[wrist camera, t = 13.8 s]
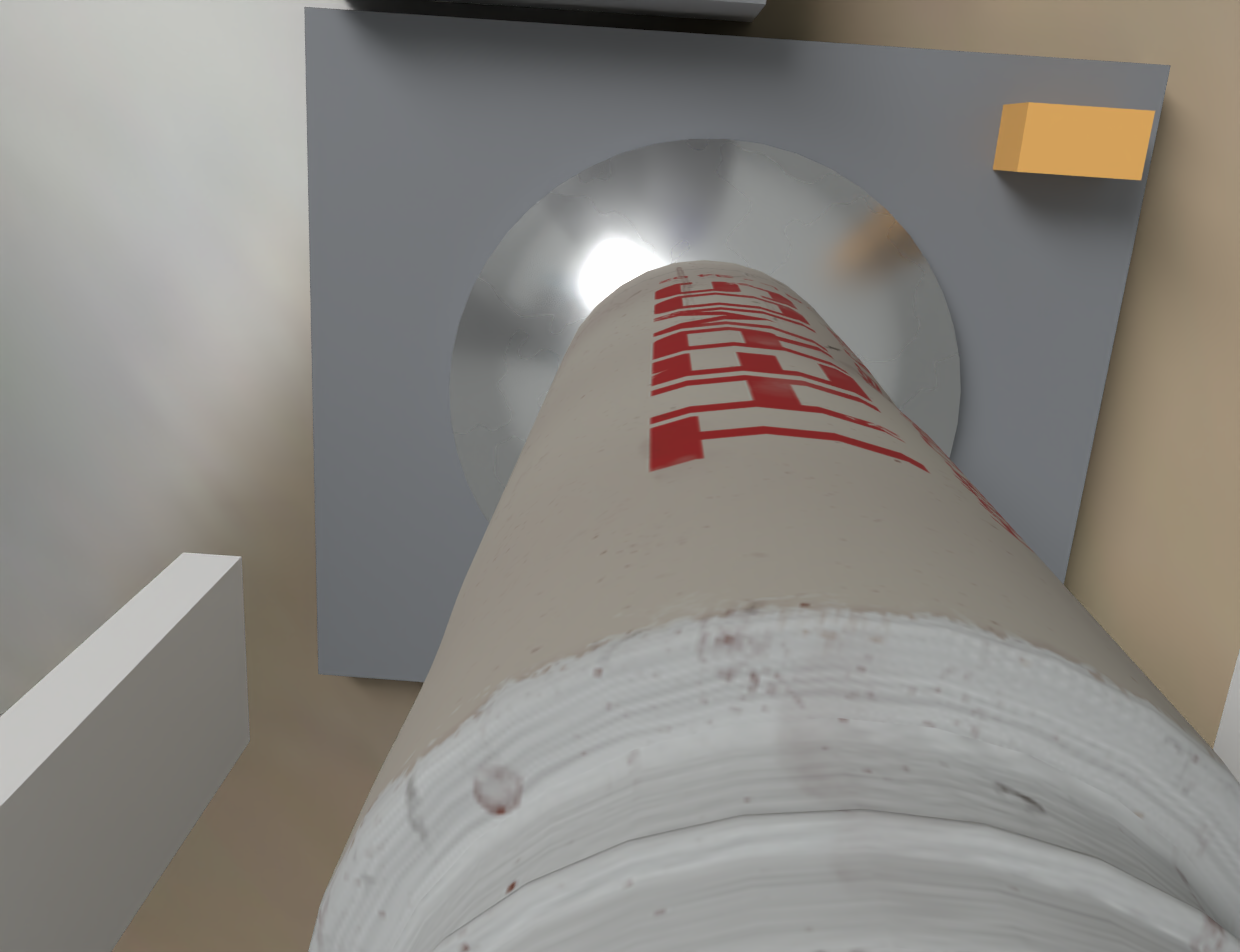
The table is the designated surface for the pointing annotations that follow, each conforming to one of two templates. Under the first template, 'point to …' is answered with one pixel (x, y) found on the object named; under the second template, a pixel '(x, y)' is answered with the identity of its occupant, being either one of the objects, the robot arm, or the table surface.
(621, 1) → the desk organizer
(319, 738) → the table surface
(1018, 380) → the rosette base
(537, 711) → the thermos bottle
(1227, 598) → the table surface
